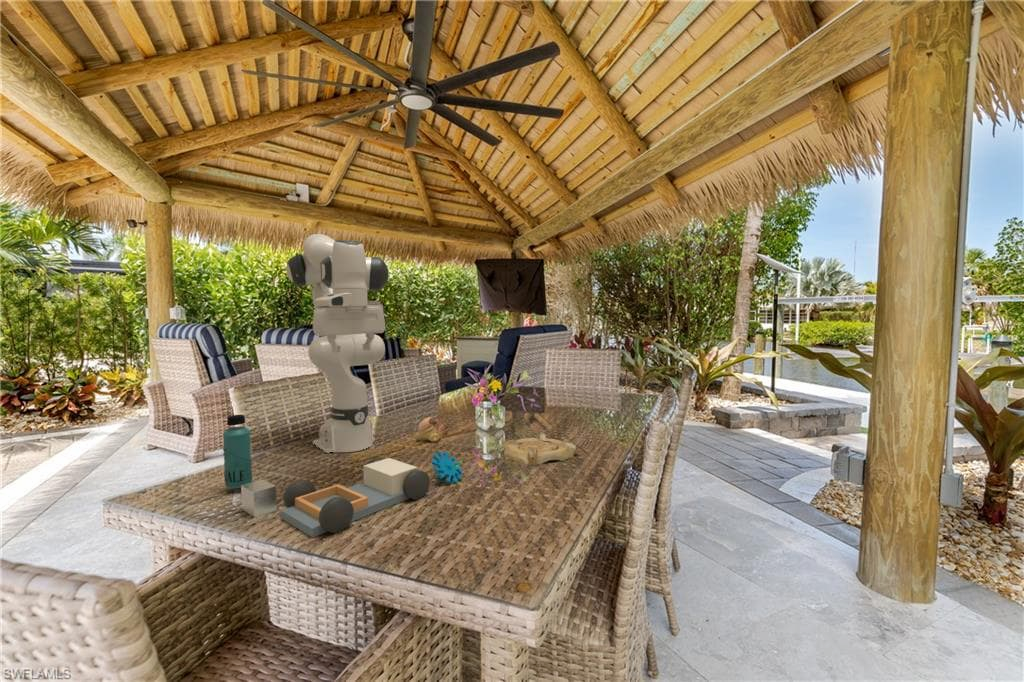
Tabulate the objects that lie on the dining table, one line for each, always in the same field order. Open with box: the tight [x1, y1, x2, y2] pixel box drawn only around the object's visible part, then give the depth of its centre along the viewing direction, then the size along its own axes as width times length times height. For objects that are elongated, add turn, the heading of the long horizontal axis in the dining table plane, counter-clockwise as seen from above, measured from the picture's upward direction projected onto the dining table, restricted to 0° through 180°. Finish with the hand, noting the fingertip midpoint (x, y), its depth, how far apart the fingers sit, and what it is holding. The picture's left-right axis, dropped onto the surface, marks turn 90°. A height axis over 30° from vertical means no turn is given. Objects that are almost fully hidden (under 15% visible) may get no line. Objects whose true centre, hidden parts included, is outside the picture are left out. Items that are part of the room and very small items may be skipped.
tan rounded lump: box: [413, 416, 442, 443], centre depth 168 cm, size 9×10×10 cm
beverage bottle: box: [222, 414, 253, 489], centre depth 123 cm, size 6×7×20 cm
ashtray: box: [501, 432, 578, 466], centre depth 154 cm, size 24×24×5 cm
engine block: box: [240, 478, 278, 518], centre depth 111 cm, size 7×5×6 cm
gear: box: [431, 450, 463, 484], centre depth 131 cm, size 11×6×10 cm
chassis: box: [280, 456, 431, 539], centre depth 114 cm, size 18×32×7 cm, turn 141°
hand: (351, 351), depth 127 cm, fingers open, 8 cm apart
